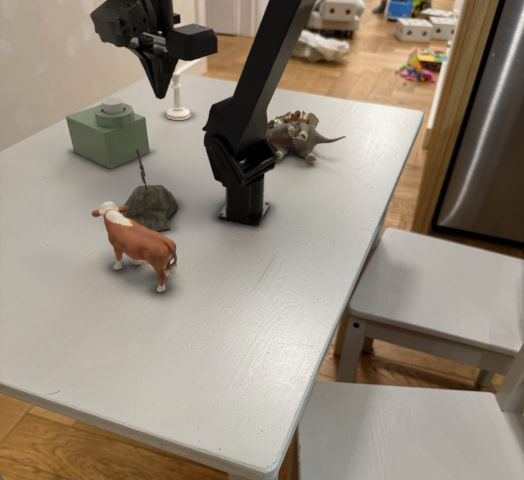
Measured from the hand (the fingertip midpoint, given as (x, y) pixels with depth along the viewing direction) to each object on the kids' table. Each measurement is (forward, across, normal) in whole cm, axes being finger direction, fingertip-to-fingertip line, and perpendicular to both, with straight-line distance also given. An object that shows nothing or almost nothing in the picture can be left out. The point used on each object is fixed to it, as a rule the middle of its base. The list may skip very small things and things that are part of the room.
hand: (160, 98), depth 74 cm
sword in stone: (+13, +6, -10) cm, 17 cm away
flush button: (+5, -13, +1) cm, 14 cm away
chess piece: (+13, -18, +21) cm, 31 cm away
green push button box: (+13, -15, +1) cm, 20 cm away
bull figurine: (+13, +15, -20) cm, 28 cm away
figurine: (+13, +7, +25) cm, 29 cm away
